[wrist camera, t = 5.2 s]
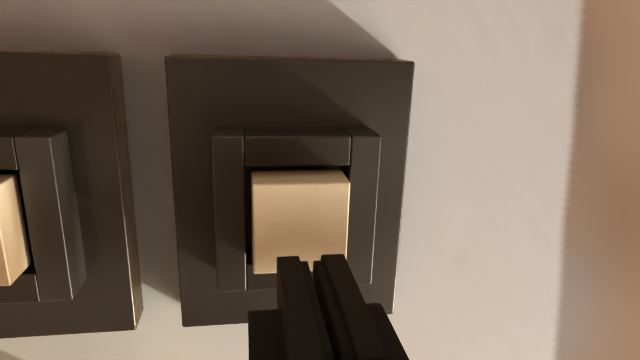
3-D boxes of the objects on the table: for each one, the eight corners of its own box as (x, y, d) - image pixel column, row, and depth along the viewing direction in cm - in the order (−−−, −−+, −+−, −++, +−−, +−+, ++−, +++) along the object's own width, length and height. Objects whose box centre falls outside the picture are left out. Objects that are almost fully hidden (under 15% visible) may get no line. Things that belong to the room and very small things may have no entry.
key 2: (251, 170, 18) (251, 183, 17) (341, 169, 19) (350, 182, 17) (252, 254, 19) (252, 274, 18) (338, 250, 20) (346, 270, 18)
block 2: (170, 54, 19) (155, 58, 16) (402, 59, 21) (432, 64, 18) (186, 307, 23) (176, 353, 20) (383, 296, 24) (405, 336, 21)
